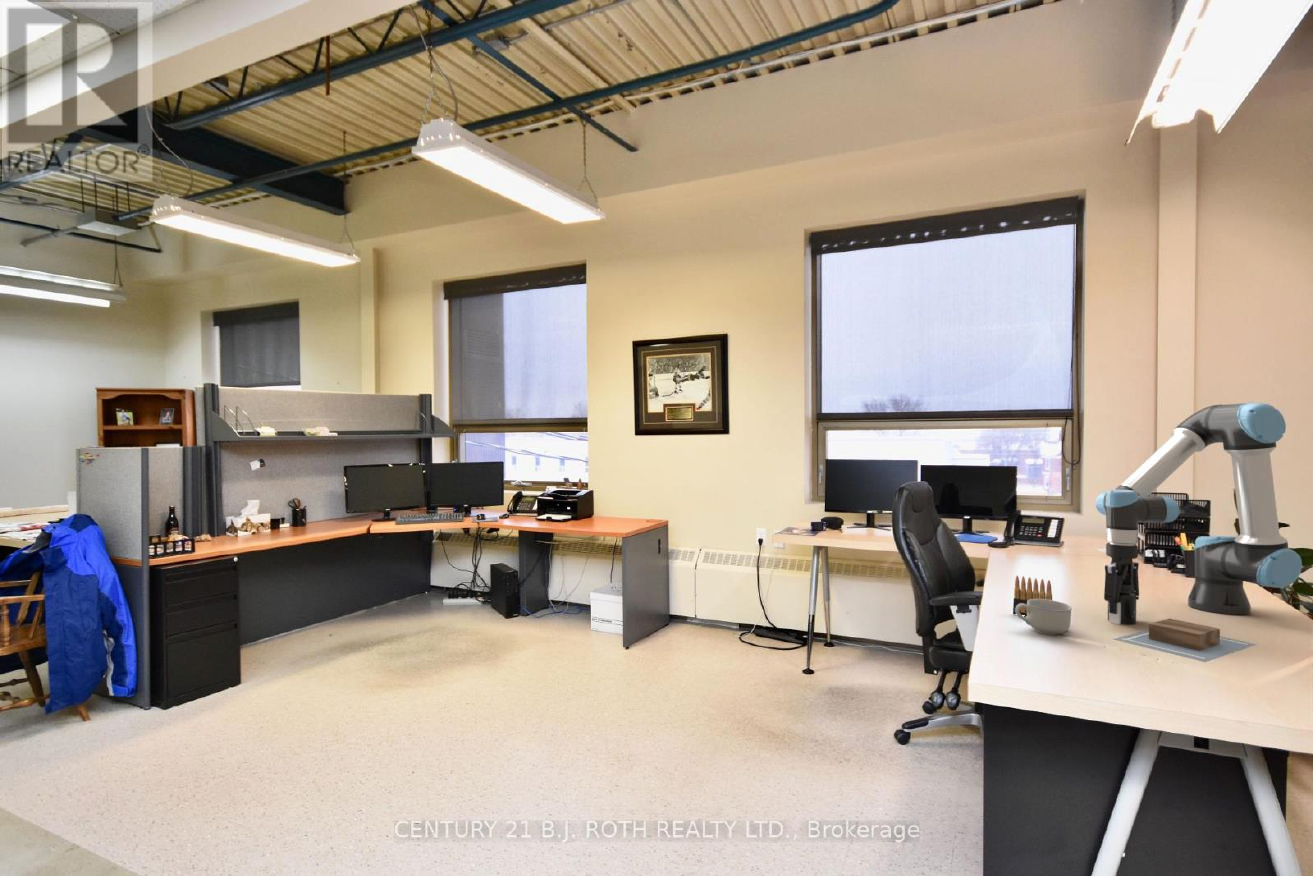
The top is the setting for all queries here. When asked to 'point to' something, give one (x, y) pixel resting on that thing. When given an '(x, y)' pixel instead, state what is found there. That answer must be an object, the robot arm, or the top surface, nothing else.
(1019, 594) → the ammunition clip
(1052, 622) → the teacup
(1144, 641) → the board
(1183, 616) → the top surface
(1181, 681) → the top surface
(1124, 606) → the supplement bottle
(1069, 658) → the top surface
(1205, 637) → the walnut plinth
